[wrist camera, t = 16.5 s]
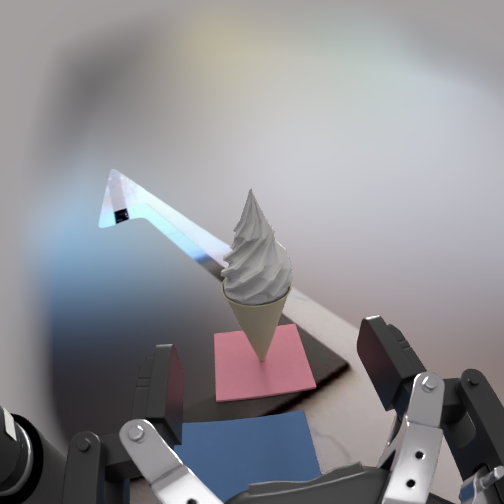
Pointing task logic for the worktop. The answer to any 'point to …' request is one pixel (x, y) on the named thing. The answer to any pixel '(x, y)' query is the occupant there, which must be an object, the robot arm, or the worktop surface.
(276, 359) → the rose mat
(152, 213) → the worktop surface
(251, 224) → the ice cream cone
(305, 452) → the blue mat
